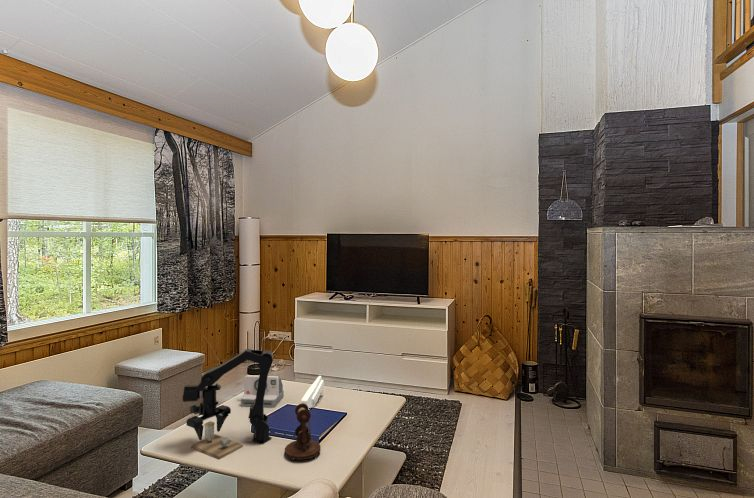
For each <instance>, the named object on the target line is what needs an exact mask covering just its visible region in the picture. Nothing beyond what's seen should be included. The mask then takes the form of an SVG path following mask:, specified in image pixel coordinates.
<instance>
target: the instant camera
mask: <svg viewBox="0 0 754 498" xmlns="http://www.w3.org/2000/svg"><path fill="white" fill-rule="evenodd" d="M259 376H260V375H255V374H254V375H252V374H251V375H249V374H248V375H245V376H244V377H243V395H242V396H241V397H240V401H241V403H240V404H241V405H240V406H241V408H250V406H251V404H252V405H254V403H255V400H256V394H257V388H258V382H259ZM283 387H284V386H283V381H282V378H280V375H279V374H278V375H276V374H275V375H272V374H268V377H267V383H266V389H265V395H264V401H263V404H264V409H267V408H268V409H274V408H276V407H277V405H279V404H280V403H281V401H282V400H283V399H284V397H285V396H284V395H285V394H284V389H283Z"/></svg>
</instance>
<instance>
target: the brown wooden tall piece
mask: <svg viewBox="0 0 754 498" xmlns="http://www.w3.org/2000/svg"><path fill="white" fill-rule="evenodd" d="M308 410H309V411H308ZM294 412H295V415H296V420H297V422H298V423H299V425H298V426H297V427H296V428H295V430H294V434H295V437H296V440H293V441H292V442H290V443H288V444H286V445H285V448H284V454H285V456H286V457H287V458H289V459H290V461H291V462H294V460H307V459H311V458H315V459H317V457H318V455H319V454H320V452H321V444H320V443H319V442H318V441H315V440H313V439H312V431H311V430H312V429H311V423H310V422H311V421H310V420H311V417H312V416H311V412H310V409H308V406H307V405H306V404H303V403H302V404H301V403H299V404H297V405H296V406H295V409H294Z"/></svg>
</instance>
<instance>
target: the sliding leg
mask: <svg viewBox="0 0 754 498" xmlns="http://www.w3.org/2000/svg"><path fill="white" fill-rule="evenodd" d="M203 424H204V425H203V426H204V439H207V440H208V442H210V441H211V438H214V435H215V421H212V420H210V421H208V422H205V423H203Z"/></svg>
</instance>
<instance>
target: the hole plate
mask: <svg viewBox="0 0 754 498" xmlns="http://www.w3.org/2000/svg"><path fill="white" fill-rule="evenodd" d="M243 445H244V444H242V443H240V442H237V441H234V440H232V439H230V438H229V437H224V436H221V435H219V434H214V438H211V441H210V442H208V440H207V439H205V438H204V439H201V440H199V441H197V442H195V443H193V444H192V445H190V446H191V449H192V448H193V450H195V451H198V452H200V453H203V454H205V455H208V456H210V457H213V458H214V459H215V458H216V459H218V460H221V459H222V458H225V457H227V456H228V455H230V454H233V453H234V452H236V451H238V450H240V449H241V448H243V447H244V446H243Z"/></svg>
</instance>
